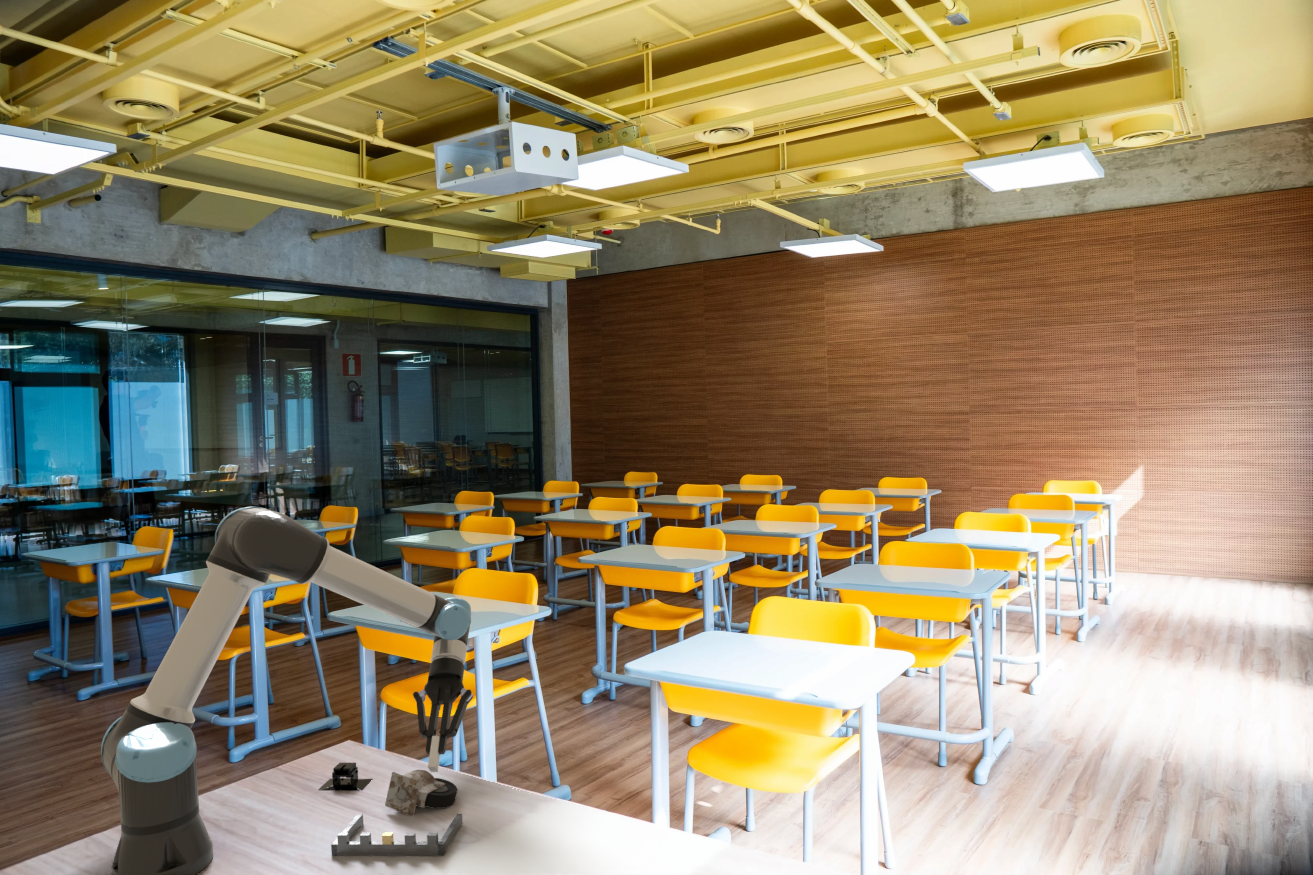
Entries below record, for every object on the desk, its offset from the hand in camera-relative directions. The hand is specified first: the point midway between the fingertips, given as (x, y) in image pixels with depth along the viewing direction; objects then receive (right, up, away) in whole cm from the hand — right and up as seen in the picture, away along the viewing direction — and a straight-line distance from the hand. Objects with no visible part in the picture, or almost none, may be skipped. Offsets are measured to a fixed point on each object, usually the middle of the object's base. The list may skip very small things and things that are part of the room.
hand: (432, 769), depth 174 cm
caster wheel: (+1, -4, -8) cm, 9 cm away
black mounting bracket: (-19, -5, +2) cm, 20 cm away
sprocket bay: (-1, -4, -21) cm, 21 cm away
